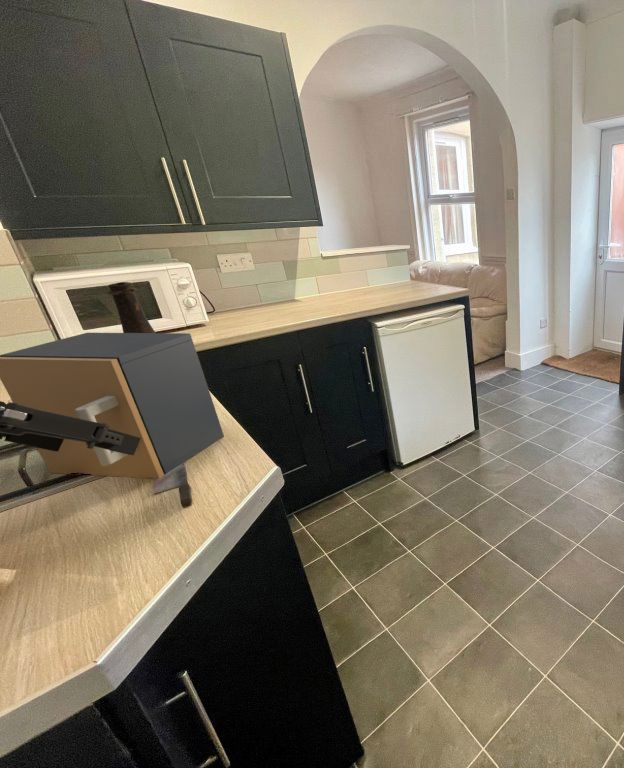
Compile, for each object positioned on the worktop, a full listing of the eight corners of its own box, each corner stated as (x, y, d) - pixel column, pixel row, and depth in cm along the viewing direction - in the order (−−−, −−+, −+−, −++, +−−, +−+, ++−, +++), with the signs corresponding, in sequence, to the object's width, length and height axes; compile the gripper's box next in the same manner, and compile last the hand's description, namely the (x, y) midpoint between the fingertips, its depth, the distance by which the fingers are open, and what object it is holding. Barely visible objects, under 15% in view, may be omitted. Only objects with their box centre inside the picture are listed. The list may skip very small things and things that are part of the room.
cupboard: (166, 475, 75) (118, 357, 66) (58, 469, 78) (-2, 355, 69) (224, 436, 88) (190, 333, 79) (130, 432, 90) (87, 332, 82)
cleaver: (152, 470, 76) (186, 460, 78) (154, 475, 76) (188, 465, 79) (151, 513, 64) (191, 499, 67) (154, 518, 64) (193, 505, 67)
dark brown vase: (213, 378, 120) (181, 278, 109) (141, 402, 105) (96, 290, 95) (176, 370, 127) (143, 276, 117) (104, 392, 112) (58, 286, 102)
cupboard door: (131, 497, 69) (74, 372, 60) (15, 490, 72) (-55, 370, 63) (164, 475, 75) (116, 358, 66) (56, 469, 77) (-3, 356, 69)
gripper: (16, 368, 46) (176, 424, 66) (-164, 364, 49) (41, 419, 69) (-22, 433, 43) (158, 472, 63) (-209, 425, 47) (17, 464, 66)
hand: (97, 444), depth 66 cm, fingers open, 13 cm apart
